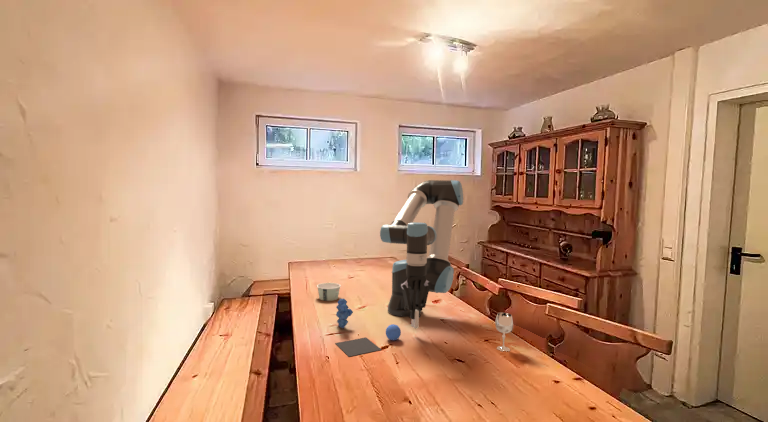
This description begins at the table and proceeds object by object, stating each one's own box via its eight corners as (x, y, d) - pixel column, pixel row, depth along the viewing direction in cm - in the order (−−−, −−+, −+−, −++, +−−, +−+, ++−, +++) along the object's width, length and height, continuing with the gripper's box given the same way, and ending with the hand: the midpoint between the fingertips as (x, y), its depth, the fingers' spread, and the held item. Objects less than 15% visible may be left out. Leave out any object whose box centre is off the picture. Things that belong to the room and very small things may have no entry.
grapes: (356, 332, 143) (356, 301, 142) (338, 333, 141) (339, 302, 140) (349, 322, 154) (350, 293, 153) (333, 323, 152) (333, 294, 151)
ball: (395, 335, 140) (396, 321, 139) (403, 341, 135) (403, 326, 135) (382, 338, 137) (383, 323, 137) (390, 343, 132) (390, 328, 132)
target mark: (365, 337, 137) (365, 337, 137) (381, 350, 127) (381, 349, 127) (335, 343, 132) (335, 343, 132) (348, 356, 121) (348, 356, 121)
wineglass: (512, 347, 131) (513, 313, 131) (512, 353, 126) (513, 318, 125) (495, 344, 133) (496, 311, 132) (494, 351, 128) (495, 316, 127)
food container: (339, 302, 182) (339, 288, 182) (314, 301, 182) (314, 288, 182) (342, 295, 194) (342, 282, 194) (318, 294, 194) (319, 282, 194)
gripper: (407, 267, 133) (405, 333, 134) (436, 264, 139) (435, 327, 140) (396, 263, 139) (394, 326, 140) (425, 261, 146) (423, 321, 146)
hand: (414, 327), depth 140 cm, fingers closed
